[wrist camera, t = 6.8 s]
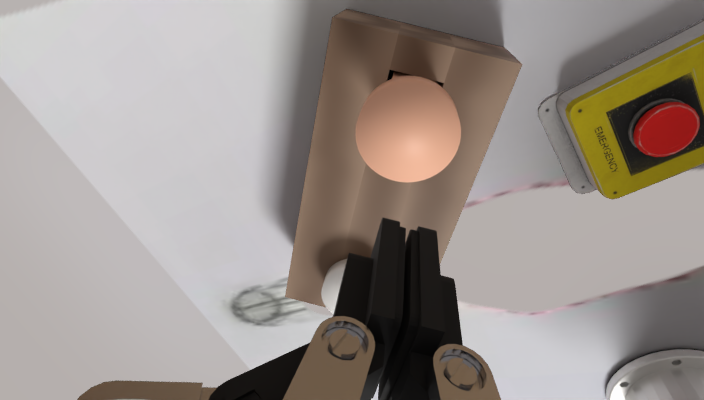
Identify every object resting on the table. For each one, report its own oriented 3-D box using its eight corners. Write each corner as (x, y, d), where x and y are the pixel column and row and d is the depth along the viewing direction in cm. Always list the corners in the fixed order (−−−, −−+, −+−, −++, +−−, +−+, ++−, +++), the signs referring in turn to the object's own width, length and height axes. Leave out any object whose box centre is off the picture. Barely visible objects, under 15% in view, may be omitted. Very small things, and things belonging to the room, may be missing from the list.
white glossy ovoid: (400, 227, 39) (397, 280, 32) (385, 272, 42) (380, 329, 35) (342, 213, 39) (327, 263, 32) (332, 258, 42) (316, 312, 35)
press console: (504, 47, 30) (522, 64, 25) (413, 285, 43) (412, 329, 37) (346, 8, 30) (332, 17, 25) (301, 256, 43) (285, 296, 38)
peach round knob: (462, 66, 27) (476, 98, 21) (436, 143, 30) (441, 192, 23) (379, 45, 27) (368, 71, 21) (361, 124, 30) (346, 168, 23)
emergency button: (546, 122, 29) (813, -9, 23) (531, 104, 33) (757, -12, 27) (592, 221, 32) (835, 127, 26) (573, 194, 36) (783, 107, 30)
